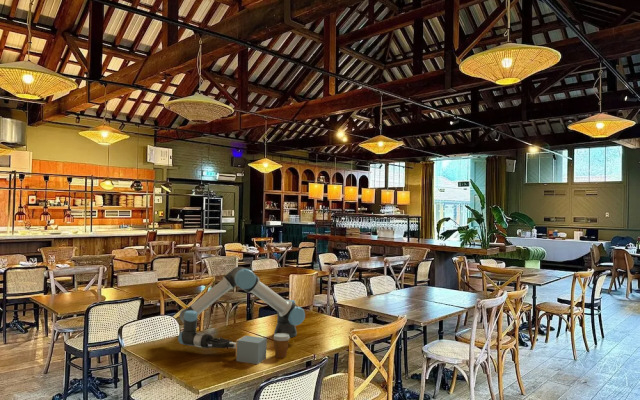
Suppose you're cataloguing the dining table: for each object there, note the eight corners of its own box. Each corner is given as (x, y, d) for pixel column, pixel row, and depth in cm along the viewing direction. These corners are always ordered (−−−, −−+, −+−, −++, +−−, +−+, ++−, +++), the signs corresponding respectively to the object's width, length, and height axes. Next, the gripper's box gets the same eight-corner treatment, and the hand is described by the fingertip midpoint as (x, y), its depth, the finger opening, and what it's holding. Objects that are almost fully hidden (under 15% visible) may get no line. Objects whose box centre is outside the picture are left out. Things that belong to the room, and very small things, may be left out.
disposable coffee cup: (282, 360, 247) (283, 338, 247) (269, 356, 252) (269, 335, 252) (292, 355, 255) (293, 334, 255) (279, 352, 260) (279, 331, 260)
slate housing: (235, 360, 243) (236, 340, 243) (244, 355, 252) (245, 335, 253) (257, 364, 238) (258, 343, 239) (266, 358, 248) (266, 338, 249)
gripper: (209, 344, 261) (245, 349, 253) (196, 350, 248) (233, 356, 241) (210, 331, 261) (245, 336, 253) (197, 336, 249) (234, 342, 241)
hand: (239, 346), depth 247 cm, fingers closed
